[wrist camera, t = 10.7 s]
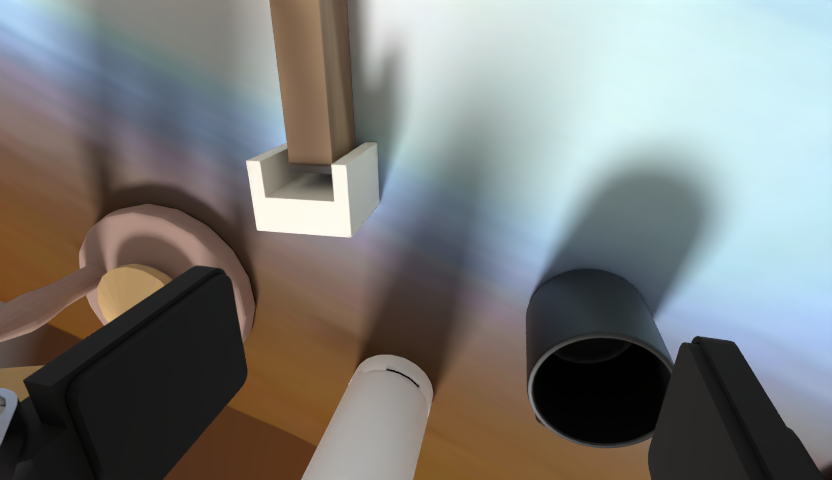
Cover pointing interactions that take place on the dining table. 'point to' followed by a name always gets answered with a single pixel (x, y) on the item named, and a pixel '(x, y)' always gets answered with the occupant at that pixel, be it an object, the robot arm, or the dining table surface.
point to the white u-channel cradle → (314, 193)
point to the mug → (595, 360)
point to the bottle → (376, 424)
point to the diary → (828, 477)
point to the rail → (314, 81)
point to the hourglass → (126, 274)
